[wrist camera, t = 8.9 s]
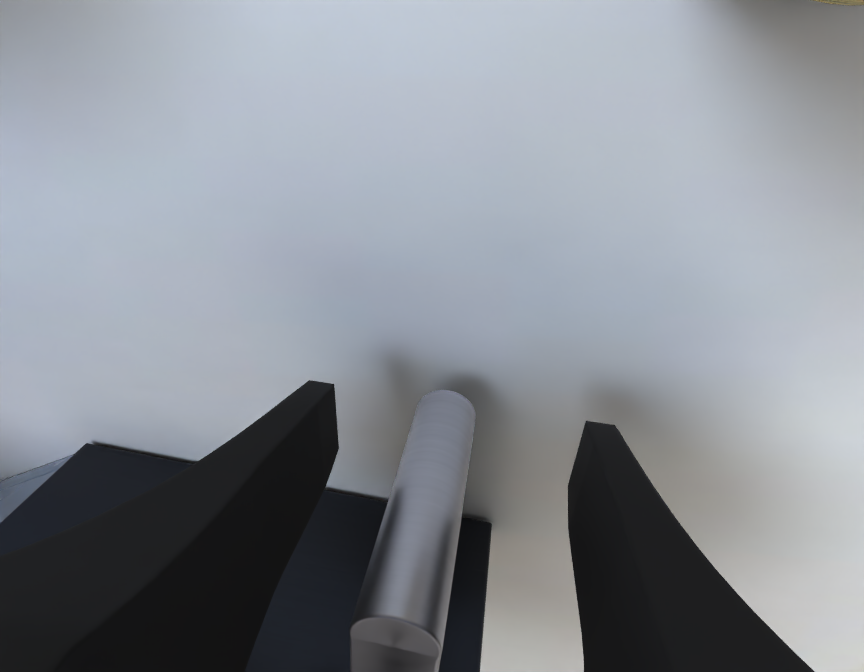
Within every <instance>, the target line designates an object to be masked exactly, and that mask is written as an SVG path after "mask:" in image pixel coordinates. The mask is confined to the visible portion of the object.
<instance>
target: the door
mask: <svg viewBox="0 0 864 672" xmlns="http://www.w3.org/2000/svg"><path fill="white" fill-rule="evenodd" d="M475 421H476V412H475V409H474V407H473V405H472V404H471V402H470V401H469V400H468V399H467V398H465V397H464V396H463V395H461V394H459V393H457V392H454V391H450V390H436V391H433V392H430V393H428V394H426V395H425V396H424V397H423V398H422V399H421V400H420V401H419V403H418V406H417V409H416V412H415V415H414V418H413V422H412V425H411V428H410V432H409V435H408V438H407V441H406V445H405V448H404V451H403V454H402V458H401V461H400V464H399V467H398V471H397V474H396V477H395V480H394V484H393V487H392V490H391V494H390V497H389V500H388V502H383V501H377V500H372V499H367V498H362V497H357V496H352V495H347V494H342V493H337V492H332V491H327V490H324V491H323V493H322V495H321V497H320V499H319V501H318V503H317V505H316V507H315V509H314V511H313V513H312V516H311V518H310V520H309V522H308V524H307V526H306V528H305V530H304V532H303V534H302V536H301V538H300V540H299V542H298V544H297V546H296V548H295V550H294V552H293V554H292V556H291V558H290V560H289V562H288V564H287V566H286V568H285V570H284V572H283V574H282V576H281V578H280V581H279V583H278V585H277V587H276V590H275V592H274V594H273V597H272V599H271V602H270V605H269V607H268V610H267V612H266V615H265V618H264V620H263V623H262V626H261V628H260V631H259V633H258V636H257V639H256V641H255V644H254V647H253V650H252V652H251V655H250V658H249V661H248V663H247V666H246V669H245V672H480V662H481V650H482V638H483V626H484V614H485V601H486V589H487V577H488V565H489V553H490V541H491V528H492V524H491V523H489V522H484V521H479V520H474V519H469V518H464V517H462V511H463V504H464V497H465V490H466V483H467V476H468V470H469V463H470V456H471V449H472V442H473V435H474V428H475ZM192 465H193V464H189V463H184V462H179V461H174V460H169V459H164V458H159V457H154V456H149V455H144V454H139V453H134V452H128V451H123V450H118V449H113V448H108V447H103V446H98V445H93V444H88V443H87V444H85V445H84V446H83V447H82V448H81V449H80V450H78V451H77V452H76V453H75V454H74V455H73V456H72V457H71V458H70V459H69V460H68V461H67V462H65V463H64V464H63V465H62V466H61V467H60V468H59V469H58V470H57V471H56V472H55V473H54V474H53V475H51V476H50V477H49V478H48V479H47V480H46V481H45V482H44V483H43V484H42V485H41V486H40V487H38V488H37V489H36V490H35V491H34V492H33V493H32V494H31V495H30V496H29V497H28V498H27V499H26V500H24V501H23V502H22V503H21V504H20V505H19V506H18V507H17V508H16V509H15V510H14V511H13V512H11V513H10V514H9V515H8V516H7V517H6V518H5V519H4V520H3V521H2V522H1V523H0V556H1V555H4V554H7V553H9V552H12V551H15V550H18V549H20V548H23V547H25V546H28V545H30V544H33V543H35V542H38V541H40V540H43V539H45V538H47V537H50V536H52V535H55V534H57V533H60V532H62V531H64V530H67V529H69V528H71V527H73V526H76V525H78V524H80V523H82V522H85V521H87V520H89V519H91V518H94V517H96V516H98V515H100V514H102V513H104V512H106V511H108V510H110V509H112V508H114V507H116V506H118V505H120V504H122V503H124V502H126V501H128V500H130V499H132V498H134V497H136V496H138V495H140V494H142V493H144V492H146V491H148V490H150V489H152V488H154V487H155V486H157V485H159V484H161V483H162V482H164V481H166V480H168V479H170V478H171V477H173V476H175V475H177V474H178V473H180V472H182V471H183V470H185V469H187V468H188V467H190V466H192Z"/></svg>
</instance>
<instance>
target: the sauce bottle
mask: <svg viewBox="0 0 864 672" xmlns="http://www.w3.org/2000/svg"><path fill="white" fill-rule="evenodd" d="M812 1H818V2H824V3H829V4H838V5H850V6H853V5H864V0H812Z"/></svg>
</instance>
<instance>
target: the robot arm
mask: <svg viewBox="0 0 864 672" xmlns="http://www.w3.org/2000/svg"><path fill="white" fill-rule="evenodd" d="M338 449H339V445H338V431H337V417H336V402H335V388H334V384H330V383H324V382H317V381H310V380H309V381H308V382H307V383H305V384H304V385H303V386H301V387H300V388H299V389H297V390H296V391H295V392H293V393H292V394H291V395H289V396H288V397H287V398H286V399H284V400H283V401H282V402H280V403H279V404H278V405H277V406H275V407H274V408H273V409H271V410H270V411H269V412H268V413H266V414H265V415H264V416H262V417H261V418H260V419H258V420H257V421H256V422H254V423H253V424H252V425H250V426H249V427H247V428H246V429H245V430H243V431H242V432H241V433H239V434H238V435H237V436H235V437H234V438H232V439H231V440H229V441H228V442H226V443H225V444H223V445H222V446H220V447H219V448H218V449H216V450H215V451H213V452H212V453H210V454H209V455H207V456H206V457H204V458H203V459H201V460H200V461H198V462H196V463H195V464H193V465H192V466H190V467H188V468H187V469H185V470H183V471H182V472H180V473H178V474H177V475H175V476H173V477H171V478H170V479H168V480H166V481H164V482H162V483H161V484H159V485H157V486H155V487H154V488H152V489H150V490H148V491H146V492H144V493H142V494H140V495H138V496H136V497H134V498H132V499H130V500H128V501H126V502H124V503H122V504H120V505H118V506H116V507H114V508H112V509H110V510H108V511H106V512H104V513H102V514H100V515H98V516H96V517H94V518H91V519H89V520H87V521H85V522H82V523H80V524H78V525H76V526H73V527H71V528H69V529H67V530H64V531H62V532H60V533H57V534H55V535H52V536H50V537H47V538H45V539H43V540H40V541H38V542H35V543H33V544H30V545H28V546H25V547H23V548H20V549H18V550H15V551H12V552H9V553H7V554H4V555H1V556H0V672H245V669H246V666H247V663H248V661H249V658H250V655H251V652H252V650H253V647H254V644H255V641H256V639H257V636H258V633H259V631H260V628H261V626H262V623H263V620H264V618H265V615H266V612H267V610H268V607H269V605H270V602H271V599H272V597H273V594H274V592H275V590H276V587H277V585H278V583H279V581H280V578H281V576H282V574H283V572H284V570H285V568H286V566H287V564H288V562H289V560H290V558H291V556H292V554H293V552H294V550H295V548H296V546H297V544H298V542H299V540H300V538H301V536H302V534H303V532H304V530H305V528H306V526H307V524H308V522H309V520H310V518H311V516H312V513H313V511H314V509H315V507H316V505H317V503H318V501H319V499H320V497H321V495H322V493H323V491H324V489H325V487H326V484H327V481H328V478H329V475H330V473H331V470H332V467H333V464H334V461H335V458H336V455H337V452H338ZM568 530H569V538H570V546H571V554H572V562H573V570H574V578H575V585H576V593H577V601H578V608H579V616H580V624H581V632H582V643H583V654H584V672H814V671H813V670H812V669H811V668H810V667H809V666H808V665H807V664H806V663H805V662H804V661H803V660H802V659H801V658H800V657H799V656H797V655H796V654H795V653H794V652H793V651H792V650H791V649H790V648H789V647H788V646H787V645H786V644H785V643H784V642H783V641H782V640H781V639H780V638H779V637H778V636H777V635H776V634H775V632H774V631H773V630H772V629H771V628H770V627H769V626H768V625H767V624H766V623H765V622H764V621H763V620H762V619H761V618H760V617H759V616H758V615H757V614H756V613H755V612H754V611H753V610H752V609H751V608H750V607H749V606H748V605H747V604H746V603H745V602H744V601H743V599H742V598H741V597H740V596H739V595H738V594H737V593H736V592H735V591H734V589H733V588H732V587H731V586H730V585H729V584H728V583H727V581H726V580H725V579H724V578H723V577H722V576H721V575H720V574H719V572H718V571H717V570H716V569H715V568H714V567H713V565H712V564H711V563H710V562H709V560H708V559H707V558H706V557H705V556H704V554H703V553H702V552H701V551H700V549H699V548H698V547H697V545H696V544H695V543H694V542H693V540H692V539H691V538H690V536H689V535H688V534H687V532H686V531H685V530H684V529H683V527H682V526H681V525H680V523H679V522H678V520H677V519H676V518H675V516H674V515H673V514H672V512H671V511H670V509H669V508H668V506H667V505H666V504H665V502H664V501H663V499H662V498H661V496H660V495H659V493H658V492H657V491H656V489H655V488H654V486H653V485H652V483H651V482H650V480H649V479H648V477H647V476H646V474H645V472H644V471H643V469H642V468H641V466H640V465H639V463H638V461H637V460H636V458H635V457H634V455H633V453H632V452H631V450H630V448H629V447H628V445H627V444H626V442H625V440H624V439H623V437H622V435H621V434H620V432H619V430H618V429H617V428H616V426H615V425H610V424H603V423H597V422H590V421H586V423H585V426H584V430H583V434H582V437H581V441H580V444H579V448H578V452H577V455H576V459H575V462H574V466H573V469H572V473H571V477H570V480H569V484H568Z"/></svg>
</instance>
